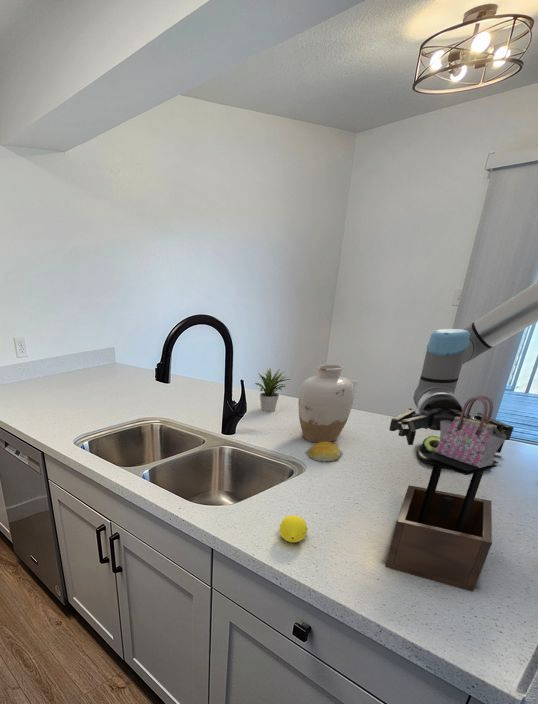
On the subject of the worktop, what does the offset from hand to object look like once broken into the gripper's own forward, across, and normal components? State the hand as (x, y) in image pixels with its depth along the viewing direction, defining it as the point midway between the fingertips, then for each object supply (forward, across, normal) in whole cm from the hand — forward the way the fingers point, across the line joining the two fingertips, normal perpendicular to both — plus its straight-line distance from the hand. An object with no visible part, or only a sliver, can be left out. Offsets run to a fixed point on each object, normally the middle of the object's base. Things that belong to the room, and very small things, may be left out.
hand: (454, 442), depth 80 cm
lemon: (+12, +25, -20) cm, 34 cm away
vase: (-52, +25, -20) cm, 61 cm away
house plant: (-77, +46, -20) cm, 92 cm away
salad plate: (-45, -10, -20) cm, 50 cm away
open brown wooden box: (+8, 0, -20) cm, 22 cm away
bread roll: (-37, +22, -20) cm, 48 cm away
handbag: (+8, 0, -20) cm, 21 cm away
